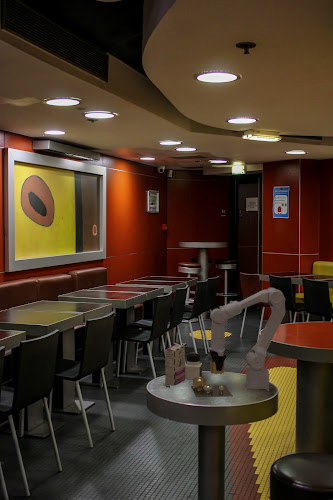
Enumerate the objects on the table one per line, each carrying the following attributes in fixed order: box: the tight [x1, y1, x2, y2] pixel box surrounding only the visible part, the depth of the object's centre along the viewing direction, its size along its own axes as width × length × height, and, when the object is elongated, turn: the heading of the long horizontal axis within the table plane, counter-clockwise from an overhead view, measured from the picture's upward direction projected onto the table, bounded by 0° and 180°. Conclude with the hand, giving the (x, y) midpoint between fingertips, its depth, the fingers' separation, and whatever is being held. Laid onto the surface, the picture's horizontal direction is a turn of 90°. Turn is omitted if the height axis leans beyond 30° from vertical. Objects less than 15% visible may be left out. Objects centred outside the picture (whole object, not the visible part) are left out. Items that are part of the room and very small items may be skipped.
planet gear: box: [210, 359, 225, 375], centre depth 249 cm, size 6×6×5 cm
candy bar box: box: [164, 344, 186, 388], centre depth 257 cm, size 11×5×16 cm, turn 154°
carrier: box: [190, 376, 234, 398], centre depth 244 cm, size 15×16×6 cm
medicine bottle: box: [185, 352, 203, 381], centre depth 265 cm, size 7×7×12 cm
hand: (217, 369), depth 249 cm, fingers closed on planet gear, 6 cm apart
